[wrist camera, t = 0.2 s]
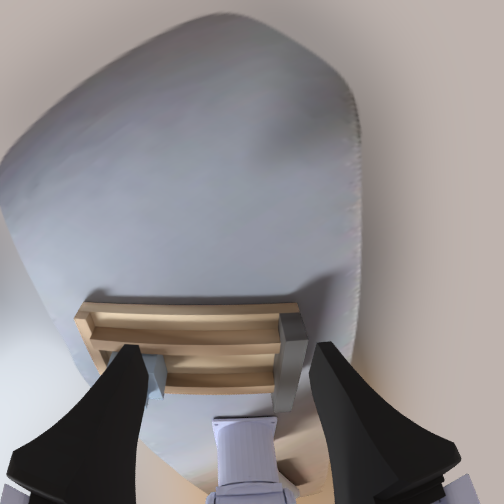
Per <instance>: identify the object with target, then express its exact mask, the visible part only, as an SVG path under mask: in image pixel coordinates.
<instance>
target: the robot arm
mask: <svg viewBox="0 0 504 504" xmlns="http://www.w3.org/2000/svg"><path fill="white" fill-rule="evenodd" d="M309 378H310V384H311V390H312V395H313V398H314V402H315V405H316V408H317V412H318V415H319V418H320V421H321V424H322V428H323V431H324V434H325V438H326V442H327V446H328V452H329V457H330V463H331V470H332V477H333V486H334V496H335V504H480V502H479V499H478V497H477V494H476V491H475V489H474V487H473V484H472V481H471V479H470V476H469V474H465V475H464V476H462V477H460V478H459V479H457V480H455V481H453V482H452V483H450V484H448V485H446V486H445V487H443V486H442V484H441V483H442V482H444V477H443V474H445V473H446V472H448V471H449V470H450V469H452V468H453V467H455V466H456V465H457V464H458V463H459V462H460V461H461V456H460V454H459V452H458V450H457V447H456V446H455V444H454V442H451V441H449V440H447V439H444V438H442V437H440V436H437V435H435V434H433V433H431V432H430V431H427V430H426V429H424V428H422V427H421V426H419V425H417V424H416V423H414V422H413V421H411V420H410V419H408V418H407V417H405V416H404V415H402V414H401V413H400V412H398V411H397V410H396V409H394V408H393V407H392V406H391V405H390V404H388V403H387V402H386V401H385V400H384V399H383V398H382V397H381V396H379V395H378V394H377V393H376V392H375V391H374V390H373V389H372V388H371V387H370V386H369V385H368V384H367V383H366V382H365V381H364V379H363V378H362V377H361V376H360V375H359V374H358V373H357V372H356V371H355V370H354V369H353V367H352V366H351V365H350V364H349V362H348V361H347V360H346V359H345V358H344V356H343V355H342V354H341V353H340V351H339V350H338V349H337V348H336V347H335V345H334V344H333V343H332V342H331V341H330V342H319V343H317V345H316V348H315V352H314V356H313V360H312V363H311V367H310V371H309ZM148 381H149V374H148V371H147V368H146V366H145V363H144V360H143V357H142V354H141V351H140V348H139V345H133V344H124V345H123V347H122V348H121V349H120V351H119V352H118V353H117V355H116V356H115V358H114V359H113V360H112V362H111V363H110V364H109V366H108V367H107V368H106V370H105V371H104V372H103V373H102V375H101V376H100V377H99V379H98V380H97V381H96V382H95V384H94V385H93V386H92V387H91V388H90V390H89V391H88V392H87V393H86V394H85V396H84V397H83V398H82V399H81V400H80V401H79V402H78V403H77V404H76V405H75V406H74V407H73V408H72V409H71V410H70V411H69V412H68V413H67V414H66V415H65V416H64V417H63V418H62V419H60V420H59V421H58V422H57V423H56V424H55V425H54V426H52V427H51V428H50V429H48V430H47V431H45V432H44V433H43V434H41V435H40V436H38V437H37V438H36V439H34V440H33V441H31V442H29V443H27V444H26V445H24V446H22V447H20V448H18V449H17V450H15V451H13V454H12V456H11V460H10V463H9V467H8V470H7V477H8V478H9V479H11V480H12V481H14V482H15V483H17V484H18V485H20V486H22V487H23V488H25V489H26V490H28V491H30V492H31V494H30V496H28V495H26V494H24V493H22V492H20V491H18V490H16V489H15V488H13V487H11V486H9V485H7V484H5V485H4V489H3V493H2V497H1V503H0V504H136V493H135V466H136V450H137V442H138V436H139V432H140V427H141V422H142V417H143V413H144V408H145V404H146V399H147V392H148ZM212 425H213V430H214V435H215V440H216V445H217V450H218V487H216V492H211V493H210V495H208V496H207V498H206V503H205V504H296V500H295V496H294V493H293V491H291V490H290V489H289V488H282V483H279V476H278V469H277V462H276V455H275V448H274V441H273V438H274V434H275V429H276V425H277V417H260V418H239V419H213V420H212Z"/></svg>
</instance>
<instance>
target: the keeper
mask: <svg viewBox="0 0 504 504" xmlns="http://www.w3.org/2000/svg"><path fill="white" fill-rule="evenodd" d="M117 353H118V352H115V351H112V354H111V357H110V359H109V362H108V365H107V367H108V366H109V364H110V363H111V362H112V360H113V359H114V358H115V356H116V355H117ZM142 357H143V360H144V363H145V366H146V368H147V371H148V374H149V381H148V392H147V399H146V404H145V409H147V405H148V399H161V400H163V398H164V391H165V385H166V378H167V372H168V371H167V368H166V365H165V361H164V357H163V355H159V354H142Z"/></svg>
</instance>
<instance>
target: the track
mask: <svg viewBox="0 0 504 504" xmlns="http://www.w3.org/2000/svg"><path fill="white" fill-rule="evenodd" d="M74 320H75V323H76V325H77V327H78V330H79V332H80V334H81V336H82V339H83V341H84V343H85V345H86V347H87V349H88V352H89V354H90V356H91V358H92V360H93V362H94V364H95V366H96V368H97V370H98V371H99V373H100V375H102V373H103V372H104V371H105V370H106V368H107V365H108V362H109V359H110V357H111V354H112V351H115V352H119V351H120V349H121V348H122V347H123V345H124V344H133V345H139V348H140V351H141V354H159V355H163V357H164V361H165V365H166V368H167V371H168V372H167V378H166V385H165V391H164V393H170V394H196V395H232V394H258V393H271V397H272V403H273V410H274V413H282V412H291V410H292V406H293V402H294V399H295V395H296V391H297V387H298V383H299V379H300V375H301V371H302V367H303V363H304V358H305V354H306V350H307V345H308V341H309V339H308V336H307V333H306V330H305V326H304V323H303V320H302V317H301V314H300V311H299V308H298V305H297V303H279V304H248V305H142V304H112V303H91V302H83V303H82V305H81V307H80V308H79V310H78V312H77V314H76V315H75V317H74Z"/></svg>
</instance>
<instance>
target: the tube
mask: <svg viewBox="0 0 504 504" xmlns="http://www.w3.org/2000/svg"><path fill="white" fill-rule="evenodd" d="M278 476H279V483H282V488H289V489H290V490H291V491H293V493H294V496H295V499H296V498H297V497H299V496H300V493H299V489H298V488H297V487H296V486H295V485H294V484H292V483H291V482H290V481H289V480H288V479H287V478H285V477H284V476H283V475H282V474H281V473H280V472H279V471H278Z"/></svg>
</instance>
